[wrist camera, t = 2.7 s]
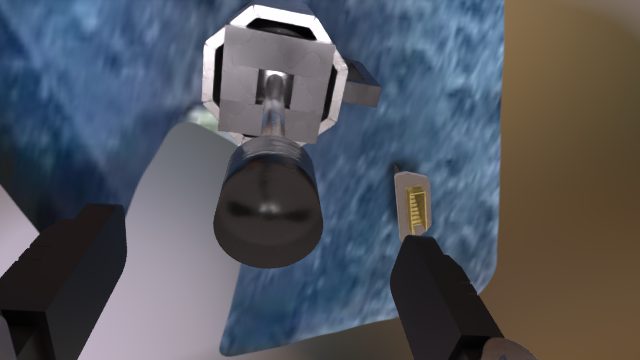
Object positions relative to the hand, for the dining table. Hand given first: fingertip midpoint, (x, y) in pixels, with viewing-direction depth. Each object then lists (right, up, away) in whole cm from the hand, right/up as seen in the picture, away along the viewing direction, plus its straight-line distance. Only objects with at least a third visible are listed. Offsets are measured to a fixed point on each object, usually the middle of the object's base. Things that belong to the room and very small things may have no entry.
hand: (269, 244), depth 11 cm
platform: (+12, +1, +38) cm, 40 cm away
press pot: (-2, +15, +27) cm, 31 cm away
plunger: (-2, +9, +17) cm, 19 cm away
